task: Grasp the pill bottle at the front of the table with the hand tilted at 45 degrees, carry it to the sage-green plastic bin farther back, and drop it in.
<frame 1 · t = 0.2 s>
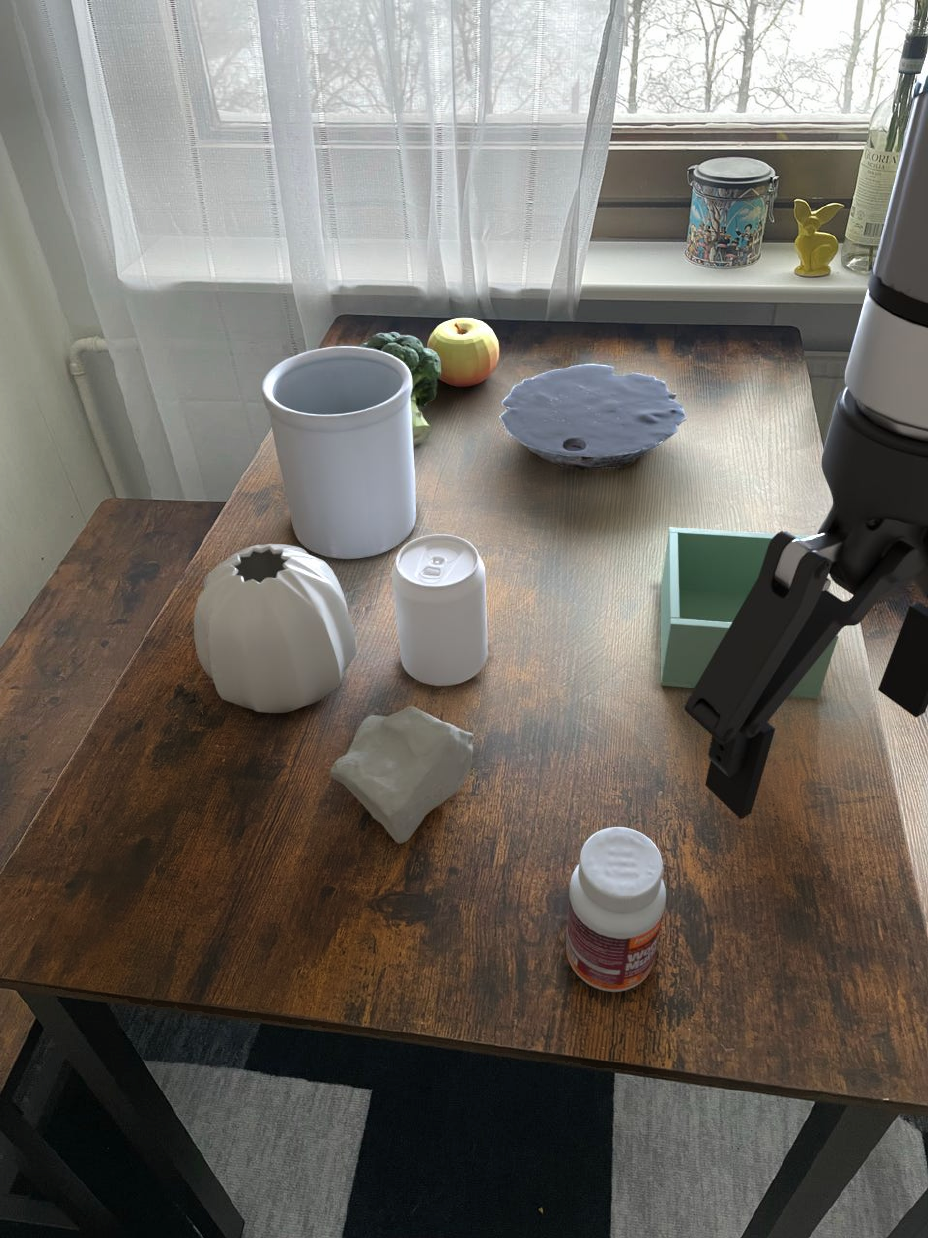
hand: (818, 748, 52), 20 cm above the table, tool pointing down, fingers open, 13 cm apart
vase: (286, 676, 86), on the table
decorative stone: (399, 786, 76), on the table
bin: (734, 639, 87), on the table
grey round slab: (589, 443, 113), on the table
pill bottle: (609, 953, 65), on the table
apple: (463, 379, 126), on the table
beverage can: (444, 660, 86), on the table
vegetable: (402, 424, 118), on the table
utensil holder: (357, 522, 103), on the table
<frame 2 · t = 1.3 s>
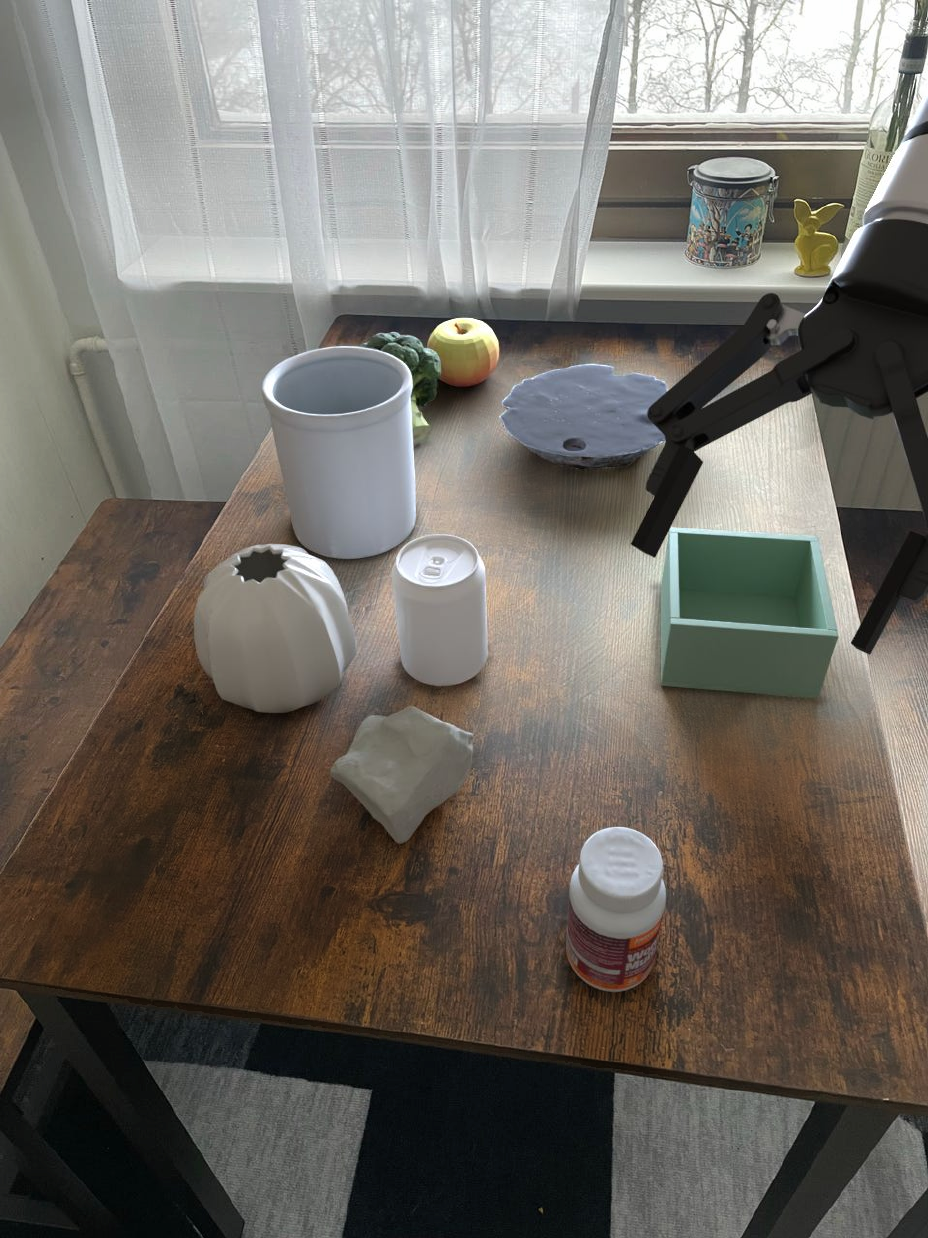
hand: (744, 597, 53), 26 cm above the table, tool tilted 45°, fingers open, 13 cm apart
nothing on the table moved.
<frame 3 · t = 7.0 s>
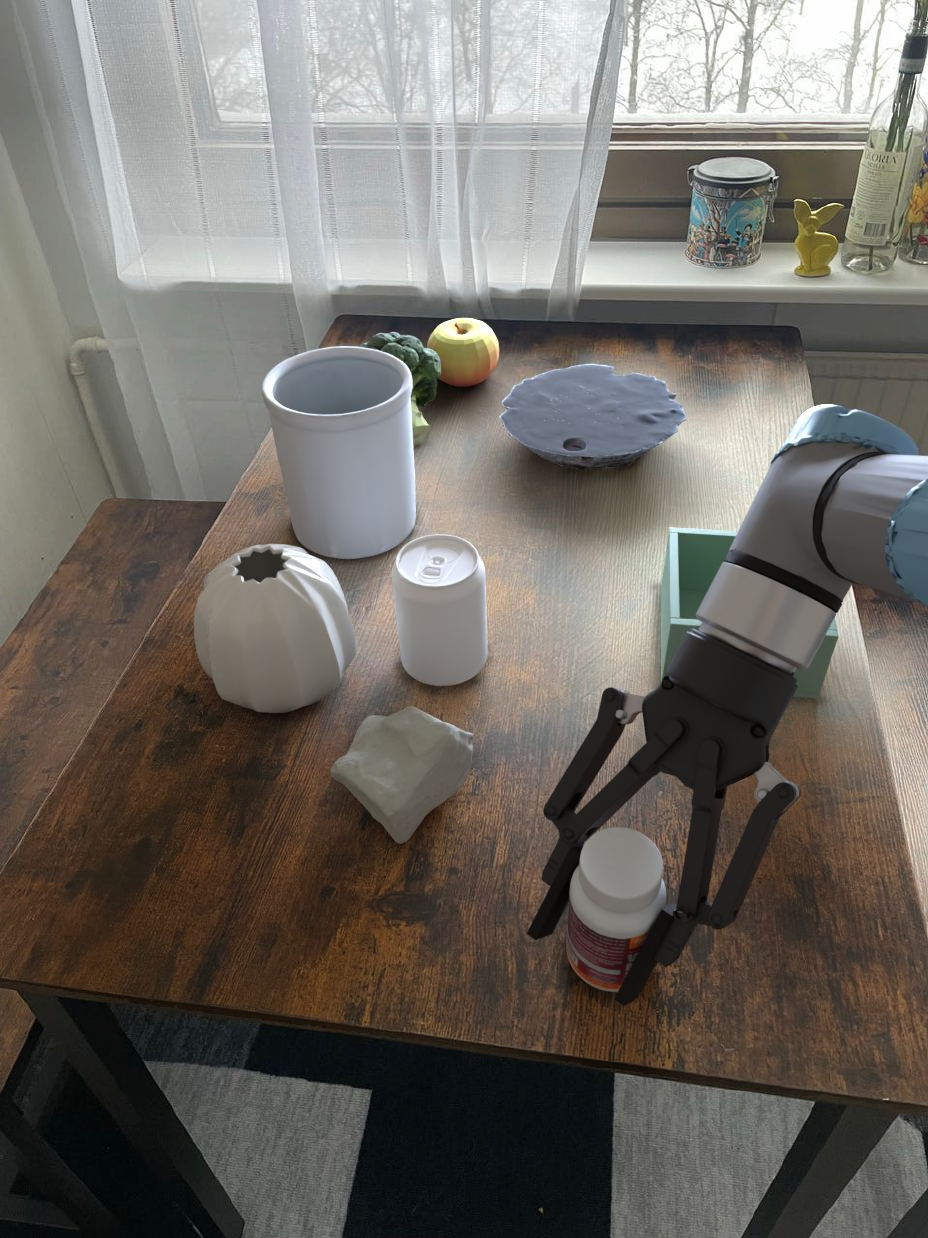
hand: (582, 964, 60), 4 cm above the table, tool tilted 45°, fingers closed on pill bottle, 6 cm apart
pill bottle: (609, 953, 65), on the table, touching gripper
everything else where it was.
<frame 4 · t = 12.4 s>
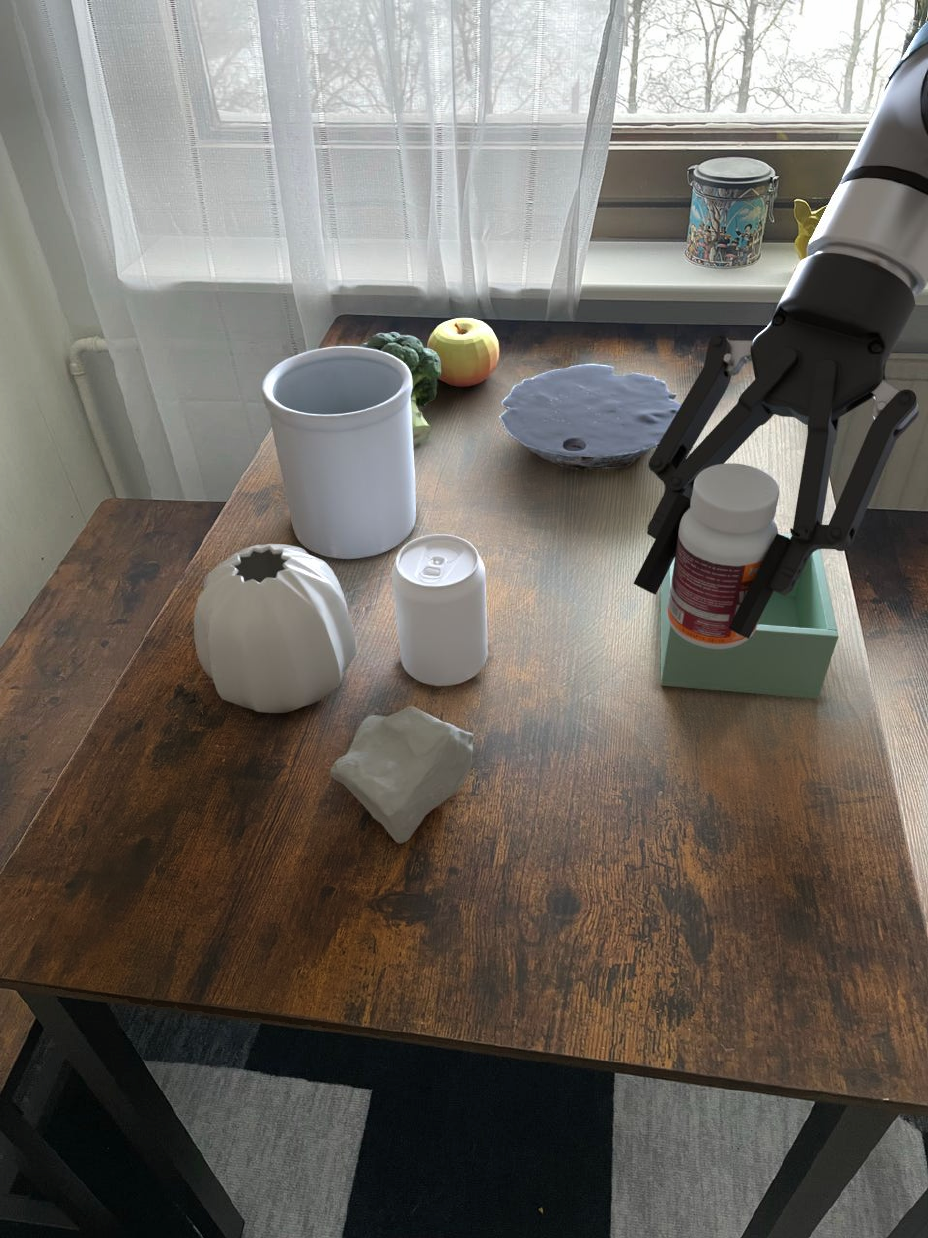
hand: (690, 610, 60), 21 cm above the table, tool tilted 45°, fingers closed on pill bottle, 6 cm apart
pill bottle: (710, 623, 64), point 17 cm above the table, touching gripper
everything else where it was.
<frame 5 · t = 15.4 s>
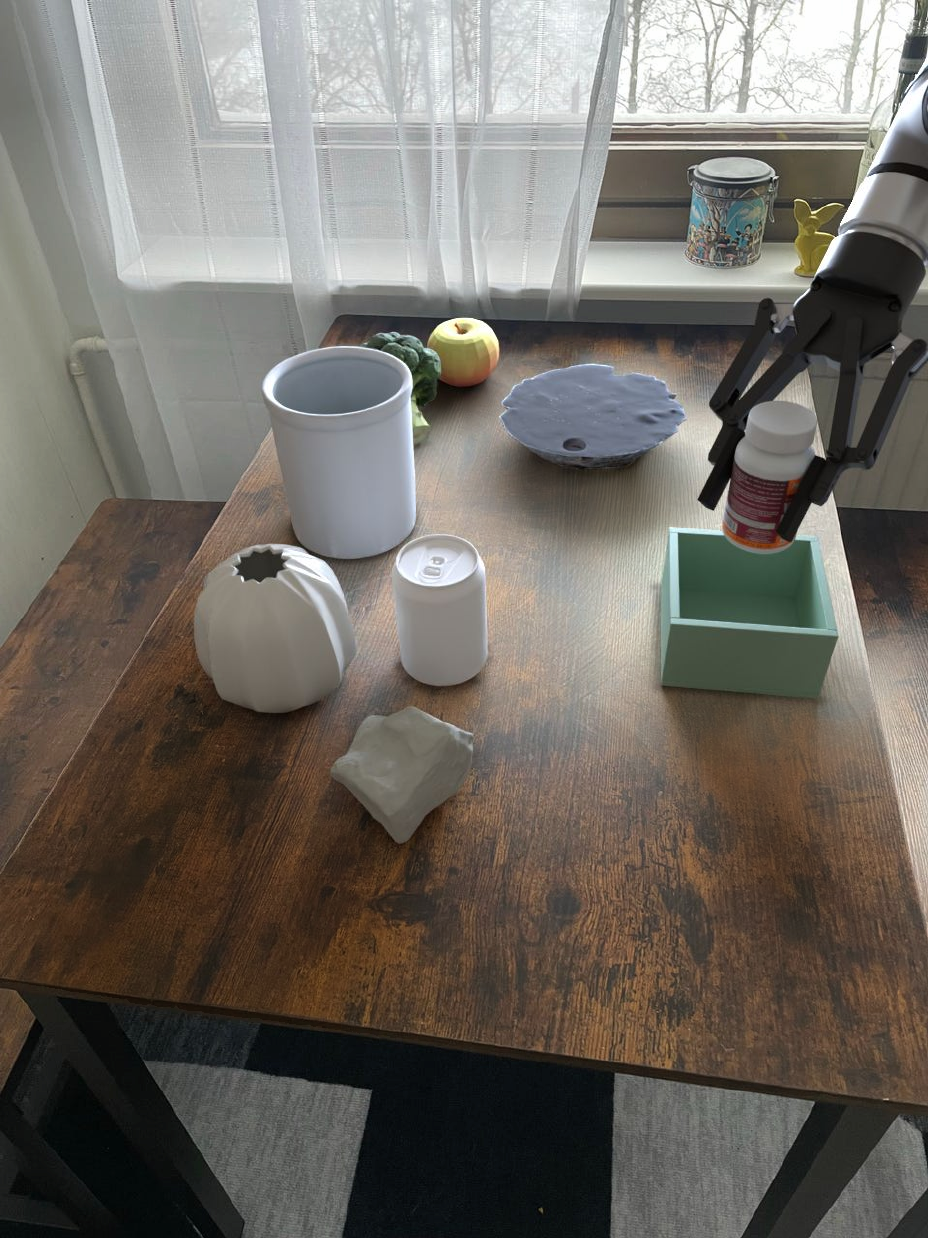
hand: (743, 520, 74), 16 cm above the table, tool tilted 45°, fingers closed on pill bottle, 6 cm apart
pill bottle: (757, 536, 79), point 12 cm above the table, touching gripper
everything else where it was.
when the fingers open (8 cm above the table, at t = 17.8 s): pill bottle drops 4 cm, resting on bin.
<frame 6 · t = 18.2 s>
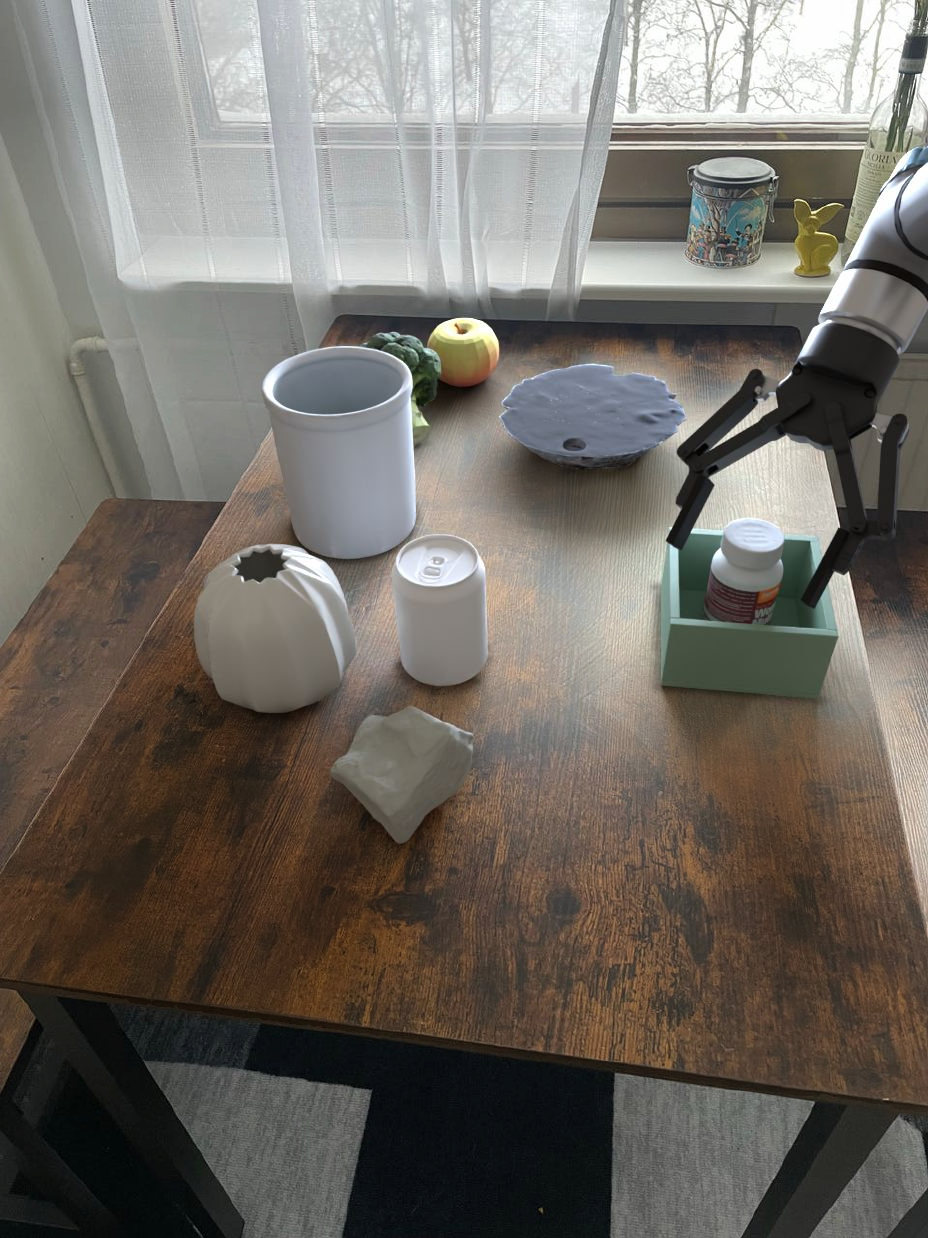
hand: (737, 574, 79), 10 cm above the table, tool tilted 45°, fingers open, 12 cm apart
pill bottle: (731, 634, 87), resting on bin
everything else where it was.
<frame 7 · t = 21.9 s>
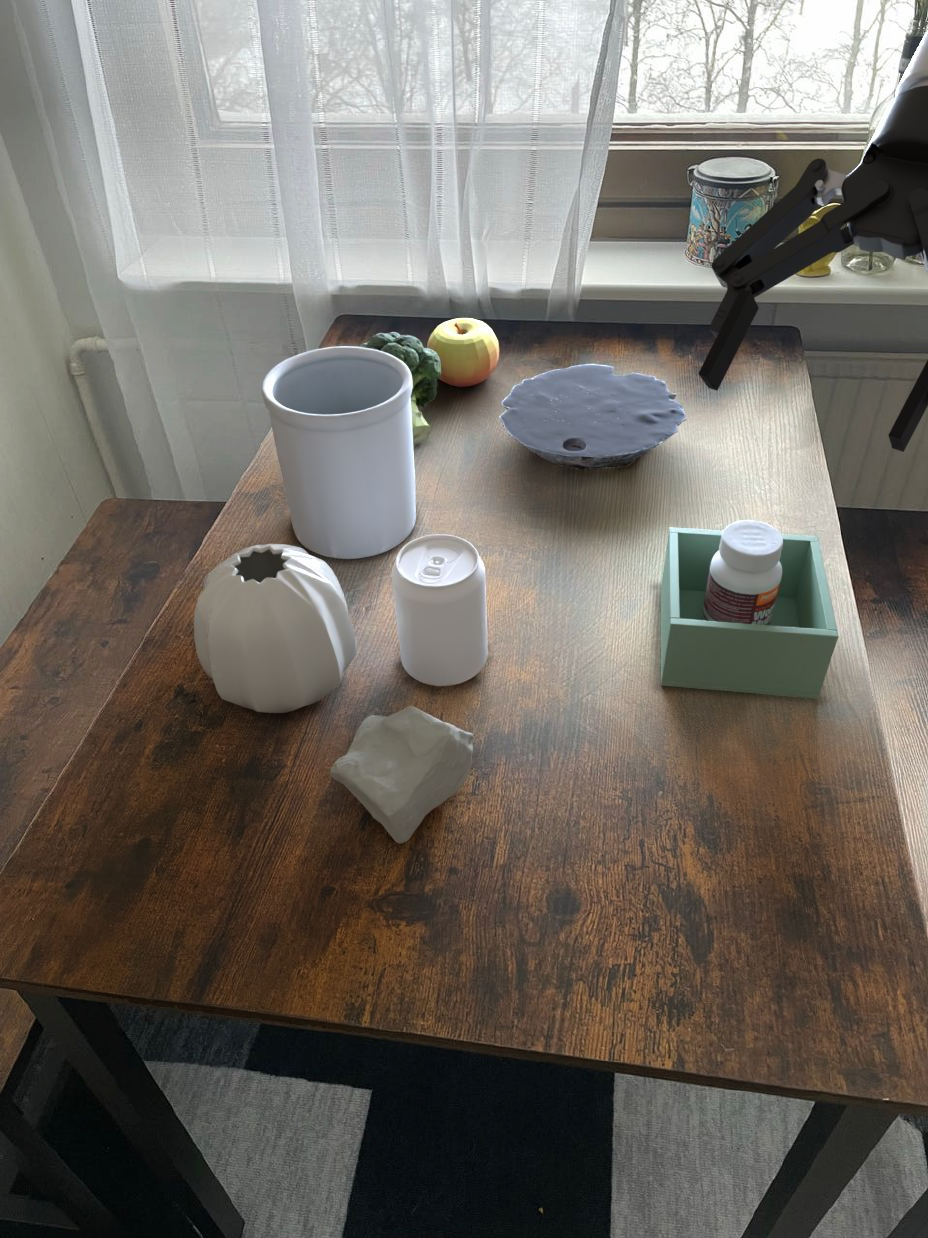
hand: (796, 411, 63), 28 cm above the table, tool tilted 45°, fingers open, 13 cm apart
nothing on the table moved.
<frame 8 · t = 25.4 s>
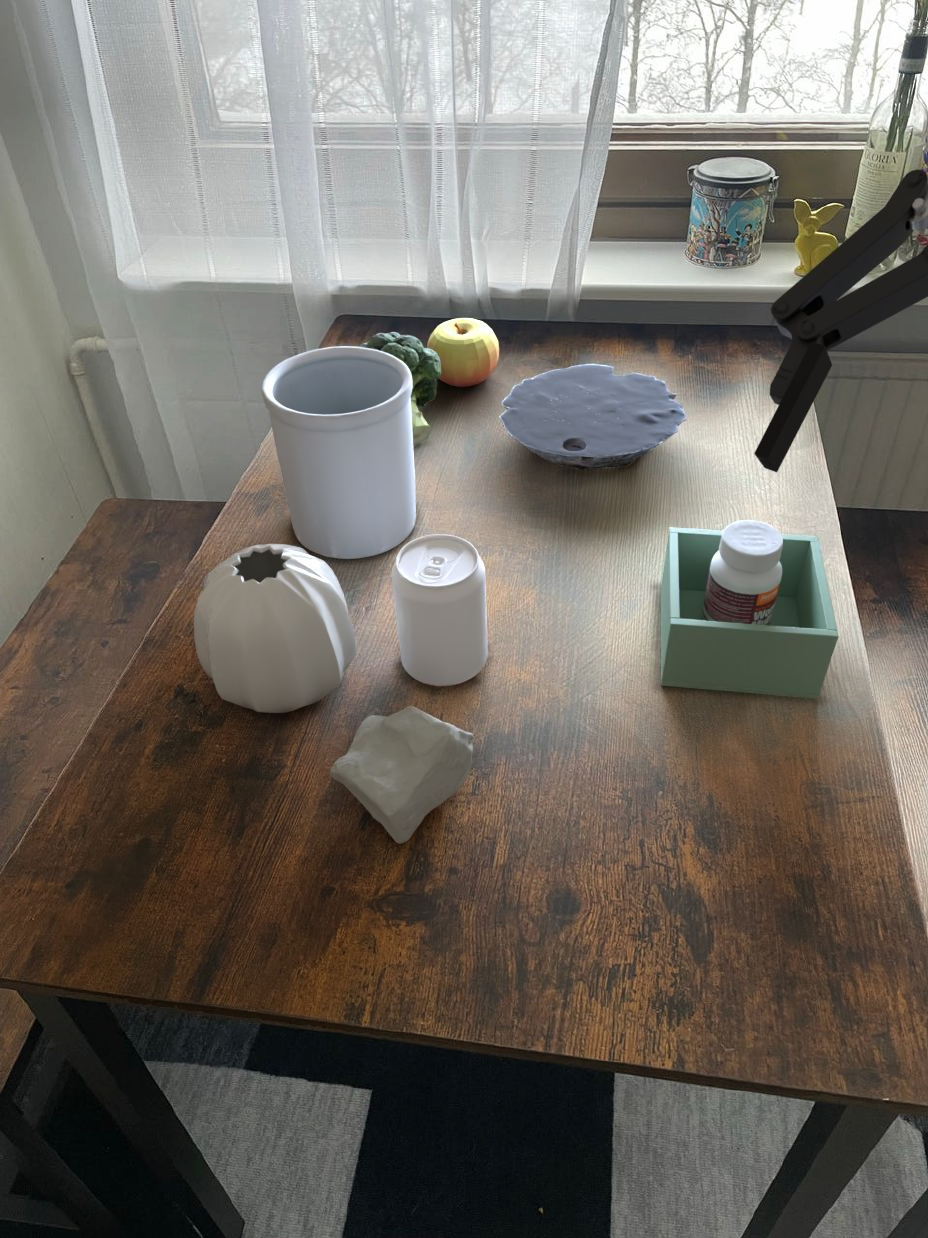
hand: (888, 509, 47), 33 cm above the table, tool tilted 45°, fingers open, 13 cm apart
nothing on the table moved.
at the end: pill bottle inside the target area in the bin (0.4 cm from its centre), point 0.4 cm above the bin's base; the gripper is holding nothing; pill bottle moved 34.6 cm from its start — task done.
